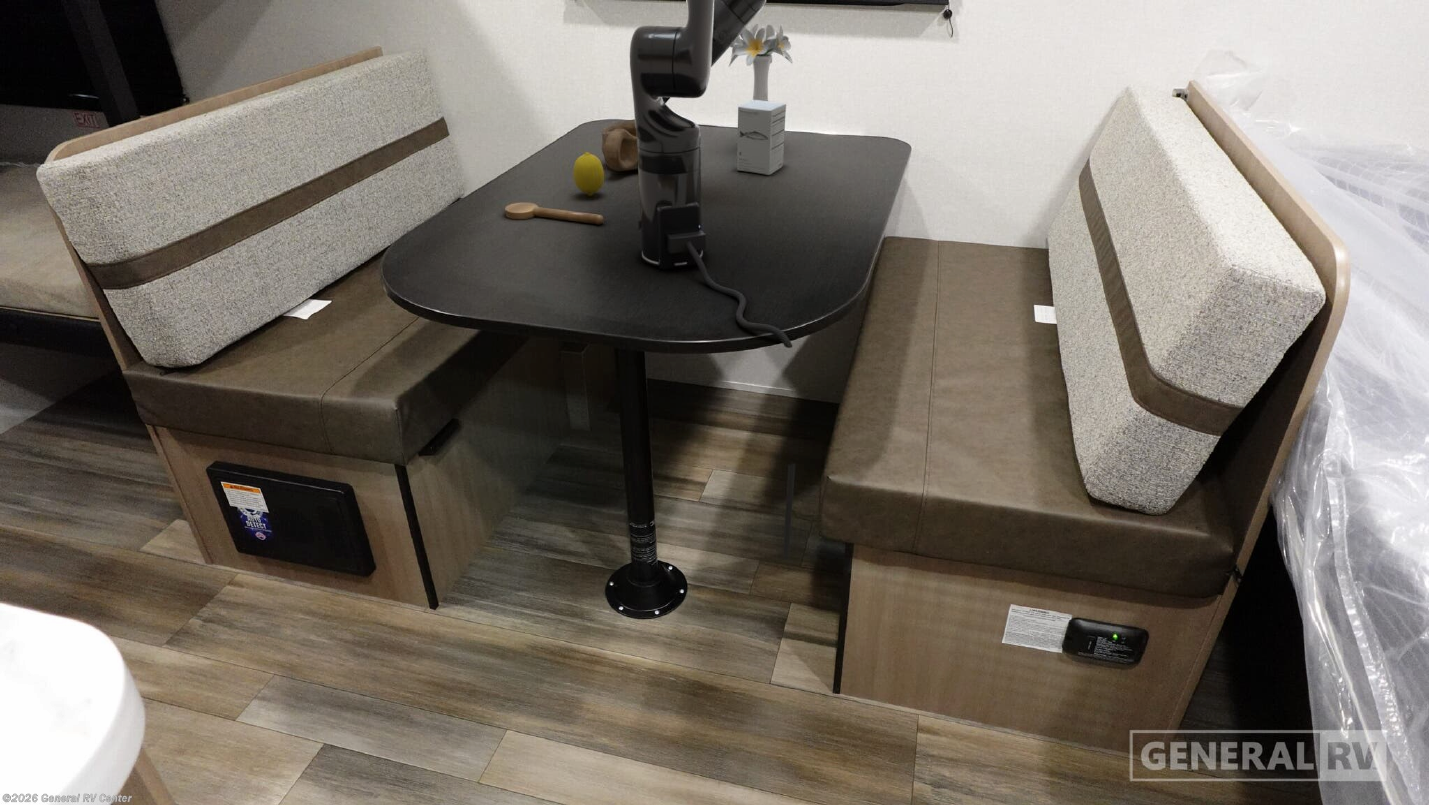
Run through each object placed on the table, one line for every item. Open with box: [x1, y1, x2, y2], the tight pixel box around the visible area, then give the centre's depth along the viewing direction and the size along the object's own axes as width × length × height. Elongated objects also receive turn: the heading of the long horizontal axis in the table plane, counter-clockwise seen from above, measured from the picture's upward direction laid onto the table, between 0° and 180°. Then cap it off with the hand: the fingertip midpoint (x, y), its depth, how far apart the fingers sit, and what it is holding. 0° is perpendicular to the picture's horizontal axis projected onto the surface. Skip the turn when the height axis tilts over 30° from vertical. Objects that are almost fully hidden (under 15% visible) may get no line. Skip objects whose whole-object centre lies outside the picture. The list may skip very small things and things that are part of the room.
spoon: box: [504, 202, 604, 225], centre depth 152 cm, size 19×6×2 cm, turn 70°
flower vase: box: [728, 23, 793, 101], centre depth 184 cm, size 13×18×25 cm
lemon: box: [572, 151, 605, 197], centre depth 160 cm, size 6×6×8 cm
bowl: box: [601, 118, 638, 172], centre depth 175 cm, size 18×14×10 cm
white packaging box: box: [736, 99, 787, 176], centre depth 174 cm, size 7×7×13 cm
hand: (649, 103), depth 155 cm, fingers open, 8 cm apart
